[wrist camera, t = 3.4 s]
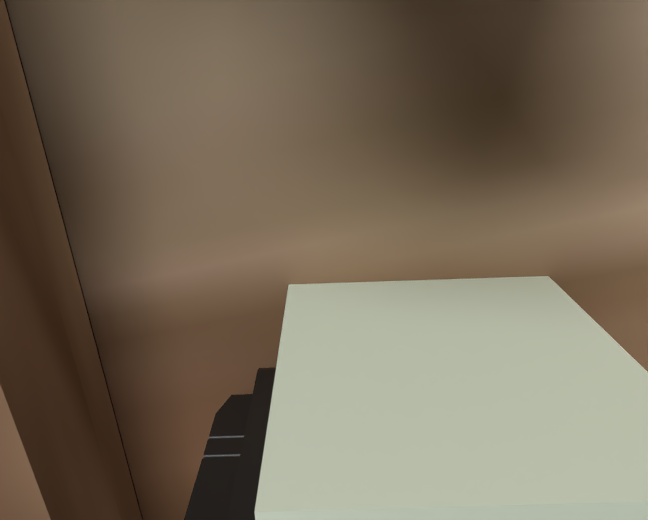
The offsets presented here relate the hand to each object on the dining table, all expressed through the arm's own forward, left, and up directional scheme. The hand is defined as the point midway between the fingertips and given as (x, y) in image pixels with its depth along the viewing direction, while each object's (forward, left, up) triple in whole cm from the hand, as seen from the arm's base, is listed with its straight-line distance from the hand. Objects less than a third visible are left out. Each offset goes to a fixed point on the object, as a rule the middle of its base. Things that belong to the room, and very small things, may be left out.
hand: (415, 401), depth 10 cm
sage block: (0, 0, 0) cm, 0 cm away
